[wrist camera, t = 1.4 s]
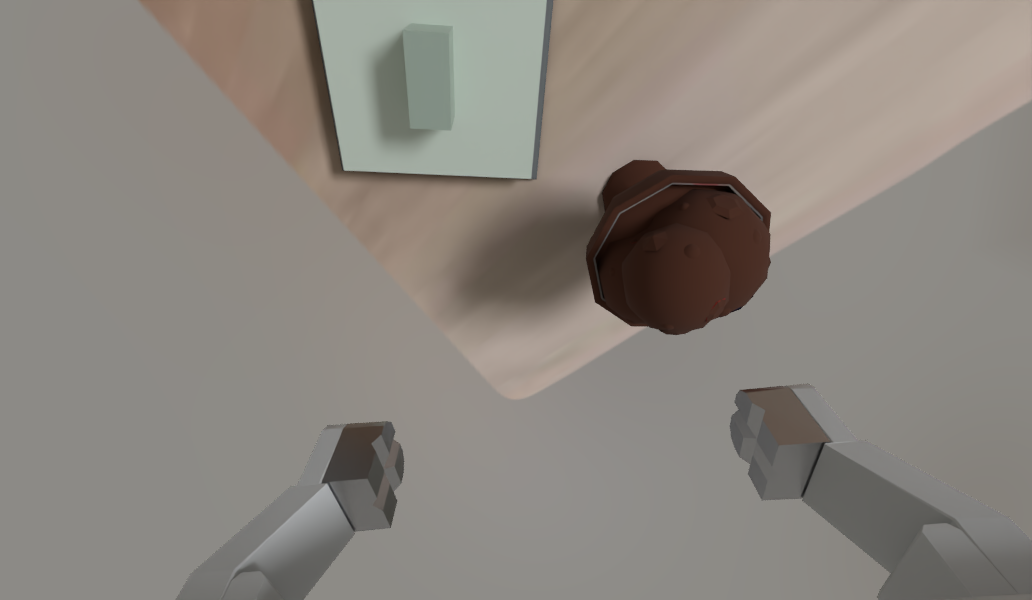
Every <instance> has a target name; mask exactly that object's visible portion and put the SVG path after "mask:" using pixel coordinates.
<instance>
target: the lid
mask: <svg viewBox="0 0 1032 600" xmlns="http://www.w3.org/2000/svg"><path fill="white" fill-rule="evenodd" d="M313 2H314V7H315V13H316V18H317V24H318V29H319V35H320V41H321V46H322V52H323V57H324V63H325V68H326V74H327V79H328V85H329V90H330V96H331V102H332V107H333V113H334V118H335V124H336V129H337V135H338V140H339V146H340V152H341V157H342V163H343V168H344V170H345V171H367V172H389V173H411V174H433V175H455V176H477V177H499V178H521V179H531V176H532V164H533V153H534V141H535V130H536V118H537V107H538V95H539V84H540V72H541V61H542V49H543V38H544V26H545V15H546V3H547V0H313Z"/></svg>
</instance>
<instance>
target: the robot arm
mask: <svg viewBox="0 0 1032 600" xmlns="http://www.w3.org/2000/svg"><path fill="white" fill-rule="evenodd" d="M735 404H736V406H737V407H738V409H739V410H738V411H737V412H735V414H733V415H732V417H731V423H730V431H731V438H732V441H733V444H734V447H735V449H736V451H737V453H738V455H739V457H740V458H742V459H743V460H745V461H746V462H748V463H749V464H750V468H749V472H748V475H749V477H750V478H751V480H752V482H753V484H754V486H755V488H756V490H757V492H758V494H759V495H760V497H761V499H762V500H779V499H799V498H803V500H802V501H804V502H805V503H806V504H807V505H808V506H810V507H811V508H812V509H813V510H814V511H816V512H817V513H818V514H819V515H820V516H822V517H823V518H824V519H825V520H827V521H828V522H829V523H830V524H831V525H833V526H834V527H835V528H836V529H838V530H839V531H840V532H841V533H842V534H844V535H845V536H846V537H847V538H848V539H850V540H851V541H852V542H853V543H855V544H856V545H857V546H858V547H859V548H861V549H862V550H863V551H864V552H865V553H867V554H868V555H869V556H870V557H872V558H873V559H874V560H875V561H876V562H878V563H879V564H880V565H882V567H884V568H885V569H886V570H887V571H889V572H890V573H891V574H890V576H889V577H888V579H887V580H886V582H885V583H884V585H883V586H882V588H881V589H880V591H879V593H878V596H877V598H878V599H879V600H1032V540H1031V539H1030V538H1029V537H1028V536H1027V535H1026V534H1025V533H1024V532H1023V531H1022V530H1021V529H1020V528H1019V527H1018V526H1017V525H1016V524H1015V523H1014V522H1013V521H1012V520H1011V519H1010V518H1009V517H1007V516H1006V515H1004V514H1002V513H1000V512H998V511H996V510H994V509H993V508H991V507H989V506H987V505H985V504H983V503H982V502H980V501H978V500H976V499H974V498H972V497H970V496H969V495H966V494H965V493H963V492H961V491H959V490H957V489H955V488H954V487H952V486H950V485H948V484H946V483H944V482H943V481H941V480H939V479H937V478H935V477H933V476H931V475H930V474H928V473H926V472H924V471H922V470H920V469H918V468H916V467H915V466H913V465H911V464H909V463H907V462H905V461H903V460H902V459H900V458H898V457H896V456H894V455H893V454H891V453H889V452H887V451H885V450H883V449H881V448H879V447H878V446H876V445H874V444H872V443H870V442H868V441H866V440H858V439H857V438H856V437H855V436H854V435H853V433H852V432H851V431H850V430H849V429H848V427H847V426H846V425H845V424H844V422H843V421H842V420H841V419H840V418H839V416H838V415H837V414H836V413H835V412H834V410H833V409H832V408H831V407H830V406H829V404H828V403H827V402H826V401H825V400H824V398H823V397H822V396H821V395H820V393H819V392H818V391H817V390H816V389H815V387H813V386H812V385H810V384H799V385H790V386H777V387H767V388H757V389H746V390H740V391H739V392H738V393H737V394H736V398H735ZM394 435H395V430H394V427H393V425H392V423H391V422H388V421H386V422H369V423H353V424H344V425H328V426H327V427H326V428H324V429H323V431H322V432H321V434H320V437H319V439H318V441H317V443H316V445H315V447H314V450H313V452H312V454H311V456H310V458H309V461H308V463H307V465H306V467H305V469H304V472H303V474H302V476H301V478H300V480H299V482H298V485H297V486H291V487H289V488H288V489H287V490H286V491H285V492H284V493H282V494H281V495H280V496H279V497H278V498H277V499H276V500H274V501H273V502H272V503H271V504H270V505H269V506H268V507H266V508H265V509H264V510H263V511H262V512H261V513H260V514H258V515H257V516H256V517H255V518H254V519H253V520H252V521H250V522H249V523H248V524H247V525H246V526H245V527H244V528H242V529H241V530H240V531H239V532H238V533H237V534H236V535H234V536H233V537H232V538H231V539H230V540H229V541H228V542H227V543H225V544H224V545H223V546H222V547H221V548H220V549H219V550H218V551H216V552H215V553H214V554H213V555H212V556H211V557H209V558H208V559H207V560H206V561H205V562H204V563H202V564H201V565H200V566H199V567H198V568H197V569H196V570H194V571H193V572H192V573H191V574H190V576H189V577H188V579H187V581H186V583H185V585H184V586H183V588H182V590H181V591H180V593H179V595H178V596H177V598H176V600H304V598H305V597H306V595H308V593H309V592H310V591H311V589H312V588H313V587H314V586H315V584H316V583H317V582H318V580H319V579H320V578H321V577H322V575H323V574H324V573H325V571H326V570H327V569H328V568H329V566H330V565H331V564H332V562H333V561H334V560H335V559H336V557H337V556H338V555H339V553H340V552H341V551H342V550H343V548H344V547H345V546H346V545H347V543H348V542H349V541H350V539H351V538H352V537H353V536H354V534H355V533H354V532H355V531H365V530H375V529H384V528H391V525H392V520H393V516H394V512H395V508H396V504H397V499H396V497H395V495H394V491H395V489H396V488H397V487H398V486H399V485H400V484H401V482H402V478H403V473H404V456H403V450H402V448H401V445H400V444H399V443H398V442H396V441H395V440H394V439H393V438H394Z"/></svg>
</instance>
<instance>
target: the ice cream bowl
mask: <svg viewBox="0 0 1032 600" xmlns="http://www.w3.org/2000/svg"><path fill="white" fill-rule="evenodd" d="M602 195H603V201H604V207H605V213H604V215H603V217H602V219H601V221H600V223H599V225H598V226H597V228H596V230H595V232H594V234H593V236H592V237H591V239H590V241H589V243H588V245H587V251H586V261H587V265H588V270H589V275H590V280H591V284H592V289H593V294H594V299H595V302H596V303H597V304H599V305H600V306H602V307H603V308H605V309H606V310H608V311H609V312H611V313H612V314H614V315H615V316H617V317H618V318H620V319H621V320H623V321H624V322H626V323H627V324H629V325H630V326H649V327H651V328H655V329H659V330H660V331H661V332H663V333H665V334H673V335H679V334H685V333H687V332H689V331H691V330H695V329H699V328H703V327H704V326H705V325H706V324H707V323H708V322H709V321H711V320H713V319H716V318H718V317H723V316H726V315H728V314H729V313H731V312H734V311H736V310H739V309H741V308H742V307H743V306H744V305H745V304H746V303H747V302H748V301H749V300H750V299H751V298H752V297H753V295H754V294H755V292H756V291H757V290H758V289H759V287H760V286H761V285H762V284H763V283H764V281H765V280H766V279H767V273H768V267H769V266H770V263H771V261H770V258H769V252H770V233H769V228H770V217H771V212H770V211H769V210H768V209H767V208H766V207H765V206H764V205H763V204H762V203H761V202H760V201H759V200H758V199H757V198H756V197H755V196H754V195H753V194H752V193H751V192H750V191H749V190H748V189H747V188H746V187H745V186H744V185H743V184H742V183H741V182H740V181H739V180H738V179H737V178H736V177H734V176H732V175H729V174H727V173H724V172H722V171H693V170H666V169H665V168H664V167H663V166H662V165H661V164H660V163H659V162H658V161H646V160H633V161H632V162H630V163H628V164H627V165H625V166H623V167H622V168H620V169H618V170H617V171H615V172H613V173H612V175H611V177H610V179H609V181H608V183H607V185H606V187H605V189H604V191H603V193H602Z"/></svg>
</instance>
